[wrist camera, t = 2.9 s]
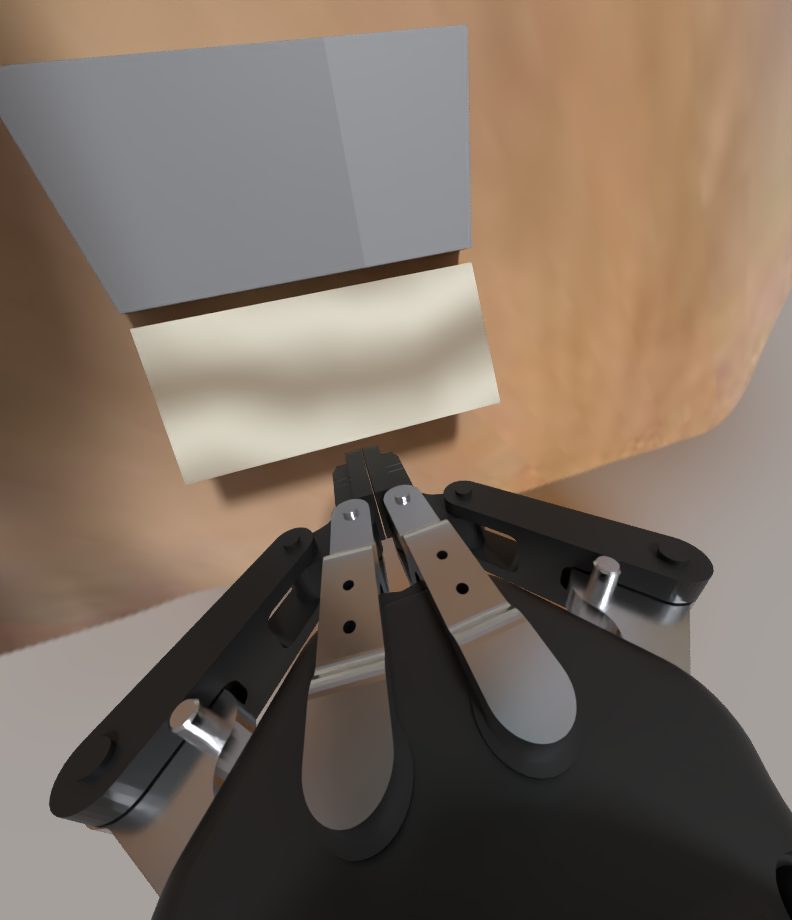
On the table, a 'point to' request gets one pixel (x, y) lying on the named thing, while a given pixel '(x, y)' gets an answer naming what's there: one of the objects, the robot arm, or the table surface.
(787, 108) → the table surface
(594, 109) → the table surface
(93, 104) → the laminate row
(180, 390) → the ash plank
